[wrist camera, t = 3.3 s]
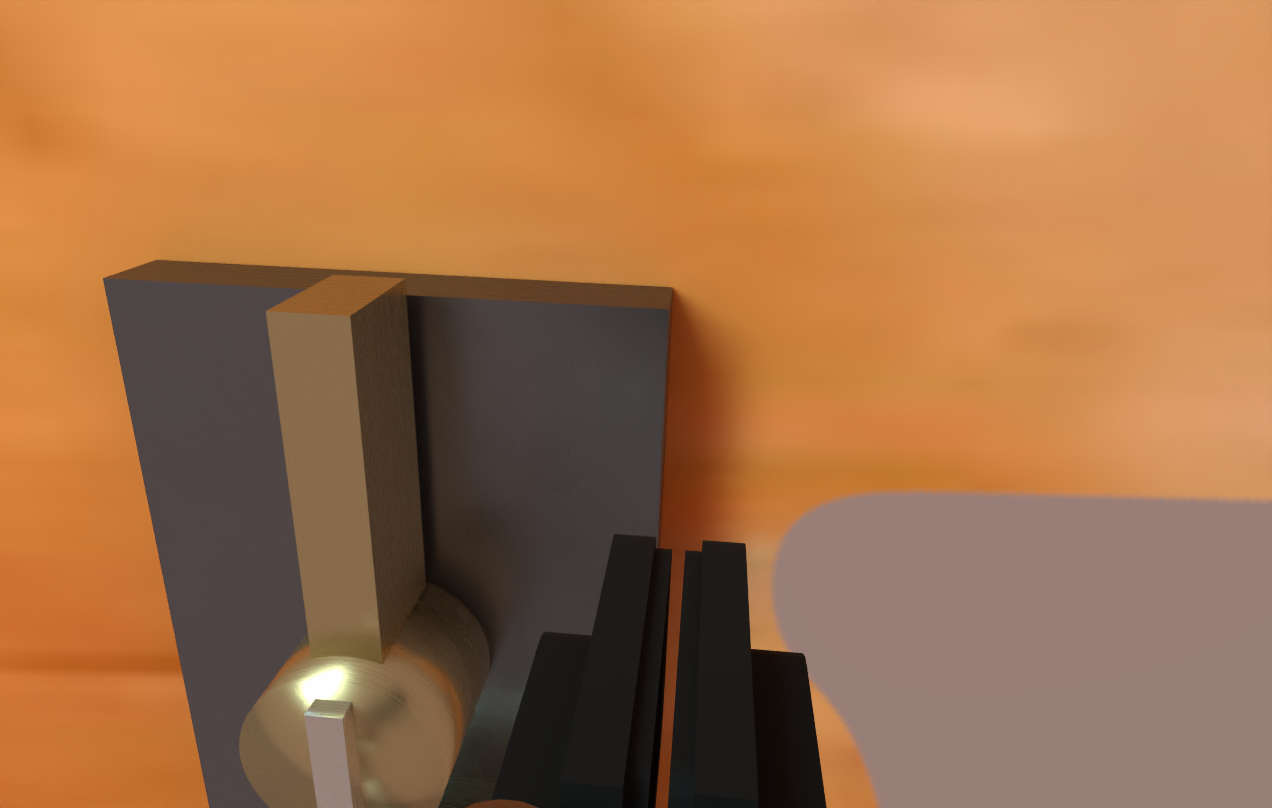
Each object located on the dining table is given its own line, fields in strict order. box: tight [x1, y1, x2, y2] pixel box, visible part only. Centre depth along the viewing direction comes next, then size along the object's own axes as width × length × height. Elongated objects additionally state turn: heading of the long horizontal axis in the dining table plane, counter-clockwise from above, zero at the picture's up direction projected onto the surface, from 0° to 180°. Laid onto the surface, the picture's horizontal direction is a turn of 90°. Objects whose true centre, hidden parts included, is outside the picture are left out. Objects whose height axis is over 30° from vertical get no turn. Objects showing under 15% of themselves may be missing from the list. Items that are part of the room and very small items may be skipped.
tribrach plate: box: [103, 260, 673, 808], centre depth 22 cm, size 22×13×6 cm, turn 178°
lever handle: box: [239, 275, 490, 808], centre depth 19 cm, size 12×5×4 cm, turn 178°
